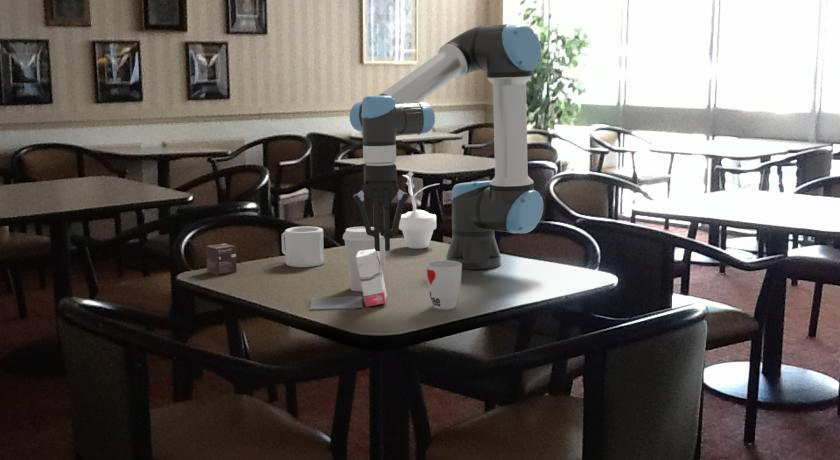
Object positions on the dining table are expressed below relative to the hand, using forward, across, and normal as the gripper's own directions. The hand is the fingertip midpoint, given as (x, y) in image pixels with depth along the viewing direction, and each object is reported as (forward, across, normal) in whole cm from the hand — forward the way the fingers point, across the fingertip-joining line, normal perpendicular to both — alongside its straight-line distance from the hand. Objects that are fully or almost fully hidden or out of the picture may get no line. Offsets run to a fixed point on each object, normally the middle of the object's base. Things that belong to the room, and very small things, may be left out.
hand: (382, 264), depth 225 cm
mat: (+9, +11, 0) cm, 14 cm away
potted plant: (+9, -14, -69) cm, 71 cm away
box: (+9, +42, -40) cm, 59 cm away
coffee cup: (+9, +4, -15) cm, 18 cm away
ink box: (+9, +2, 0) cm, 9 cm away
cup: (+9, -14, +6) cm, 18 cm away
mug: (+9, +21, -49) cm, 54 cm away
